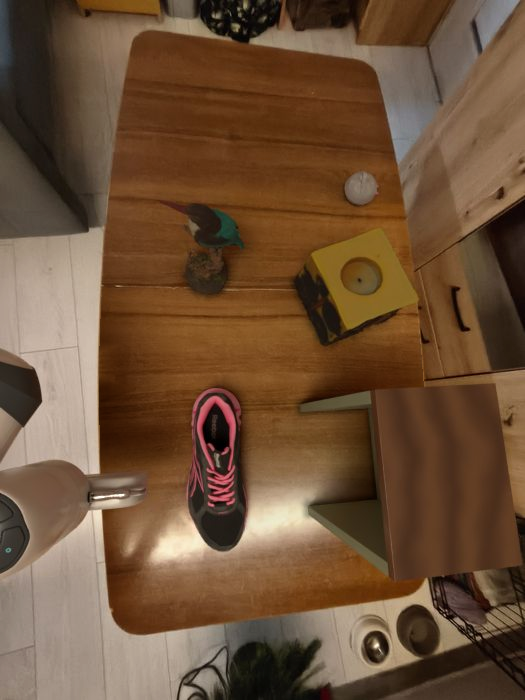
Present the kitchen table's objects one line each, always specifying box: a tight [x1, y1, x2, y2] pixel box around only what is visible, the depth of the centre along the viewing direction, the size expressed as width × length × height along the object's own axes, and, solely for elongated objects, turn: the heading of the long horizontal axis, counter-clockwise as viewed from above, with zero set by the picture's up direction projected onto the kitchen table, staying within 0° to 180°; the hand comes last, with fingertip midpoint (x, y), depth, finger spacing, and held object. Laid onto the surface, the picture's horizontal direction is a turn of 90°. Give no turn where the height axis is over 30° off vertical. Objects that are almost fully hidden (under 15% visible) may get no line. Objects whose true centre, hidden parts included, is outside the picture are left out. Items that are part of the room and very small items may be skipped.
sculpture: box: [156, 199, 246, 295], centre depth 70 cm, size 8×14×25 cm, turn 88°
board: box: [369, 383, 524, 583], centre depth 48 cm, size 15×20×2 cm
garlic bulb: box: [343, 170, 379, 206], centre depth 87 cm, size 6×7×8 cm
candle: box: [293, 226, 420, 347], centre depth 79 cm, size 15×15×15 cm
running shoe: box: [185, 387, 248, 553], centre depth 70 cm, size 11×27×13 cm, turn 6°
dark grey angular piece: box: [299, 390, 389, 578], centre depth 65 cm, size 15×20×33 cm
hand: (80, 484), depth 61 cm, fingers closed
